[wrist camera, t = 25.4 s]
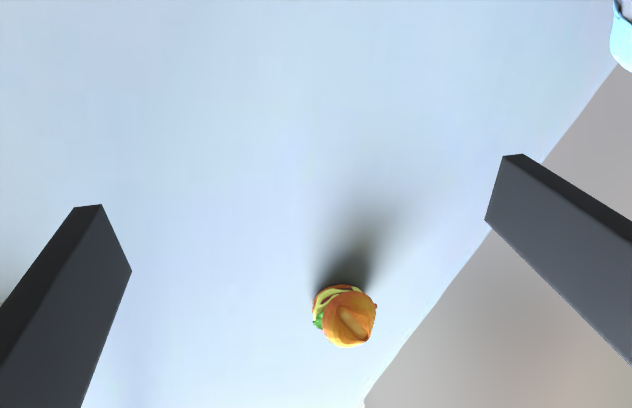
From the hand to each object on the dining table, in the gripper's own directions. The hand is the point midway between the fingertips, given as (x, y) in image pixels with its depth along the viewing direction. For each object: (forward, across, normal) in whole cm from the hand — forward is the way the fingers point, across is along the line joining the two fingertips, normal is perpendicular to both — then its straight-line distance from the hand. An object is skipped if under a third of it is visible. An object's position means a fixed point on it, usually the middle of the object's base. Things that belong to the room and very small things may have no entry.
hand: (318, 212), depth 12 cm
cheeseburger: (+31, +8, -40) cm, 52 cm away
